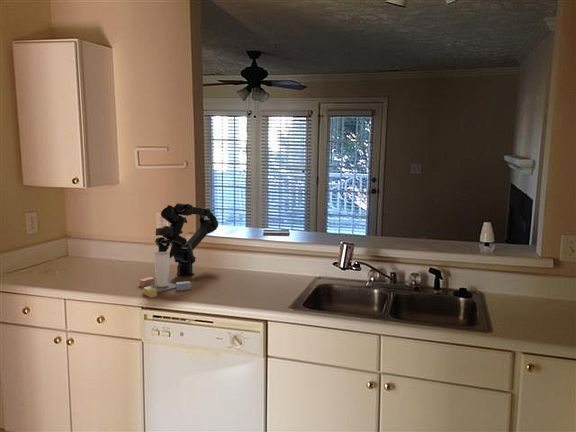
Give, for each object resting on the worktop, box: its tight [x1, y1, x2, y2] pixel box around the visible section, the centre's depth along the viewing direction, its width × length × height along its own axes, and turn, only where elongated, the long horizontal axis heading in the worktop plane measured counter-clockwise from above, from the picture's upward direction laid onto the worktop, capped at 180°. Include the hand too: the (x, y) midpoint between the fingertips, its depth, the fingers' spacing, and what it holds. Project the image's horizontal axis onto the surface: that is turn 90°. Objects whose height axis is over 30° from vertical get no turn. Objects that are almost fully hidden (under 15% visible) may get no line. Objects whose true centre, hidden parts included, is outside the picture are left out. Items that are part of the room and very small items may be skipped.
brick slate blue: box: [175, 280, 192, 291], centre depth 214 cm, size 6×3×3 cm, turn 113°
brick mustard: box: [142, 286, 158, 298], centre depth 205 cm, size 6×3×3 cm, turn 44°
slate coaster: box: [144, 281, 177, 294], centre depth 215 cm, size 11×11×1 cm
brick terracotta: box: [139, 276, 156, 288], centre depth 219 cm, size 6×3×3 cm, turn 143°
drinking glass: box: [153, 251, 171, 287], centre depth 214 cm, size 7×7×15 cm
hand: (164, 258), depth 221 cm, fingers open, 9 cm apart
